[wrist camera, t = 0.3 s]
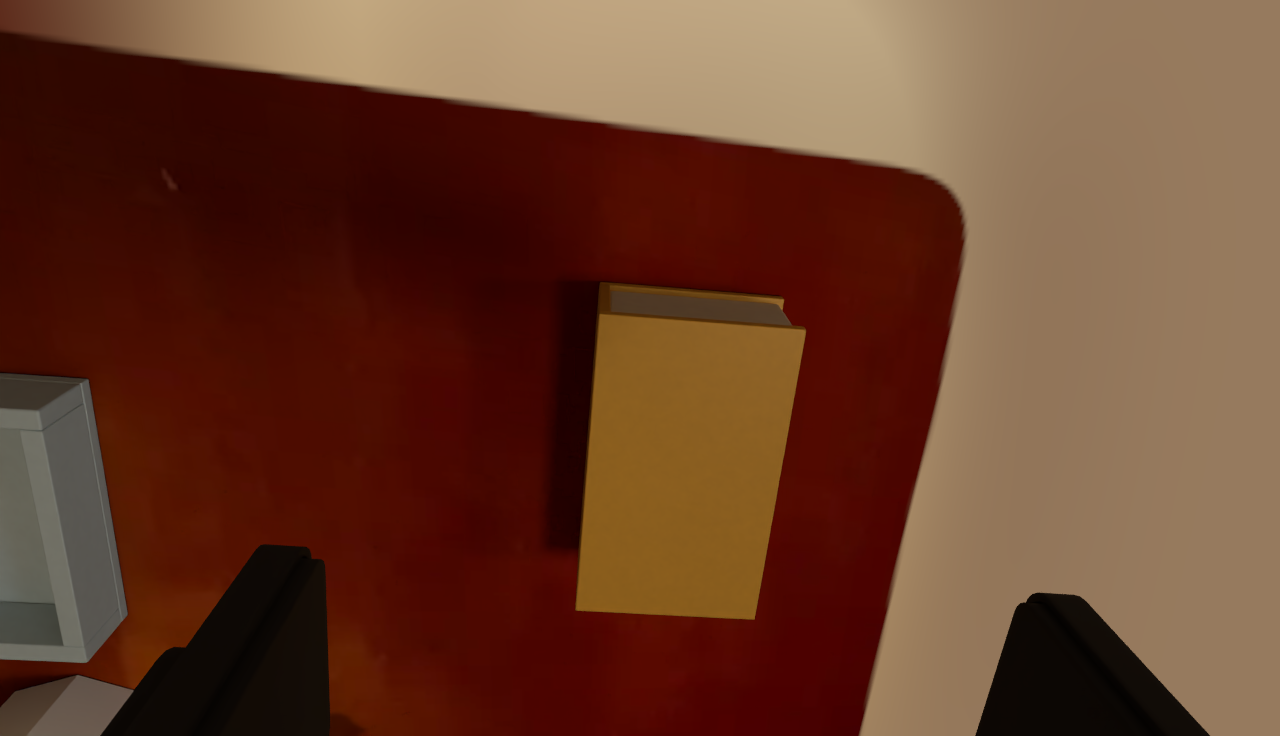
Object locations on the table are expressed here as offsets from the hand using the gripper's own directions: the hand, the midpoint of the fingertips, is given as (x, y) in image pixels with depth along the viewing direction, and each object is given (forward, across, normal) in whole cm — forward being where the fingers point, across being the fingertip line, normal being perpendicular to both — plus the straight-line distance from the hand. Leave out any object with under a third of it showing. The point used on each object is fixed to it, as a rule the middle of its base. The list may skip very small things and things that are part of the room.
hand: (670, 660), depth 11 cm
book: (+21, -3, +6) cm, 22 cm away
